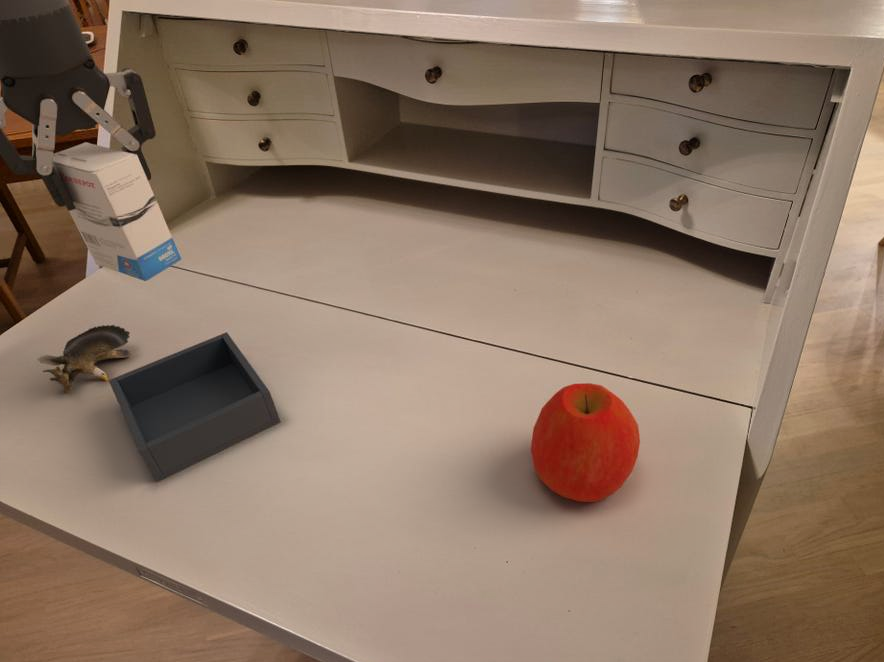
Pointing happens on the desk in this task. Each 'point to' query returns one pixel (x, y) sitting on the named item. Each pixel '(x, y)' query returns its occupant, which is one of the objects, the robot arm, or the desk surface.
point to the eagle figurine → (87, 354)
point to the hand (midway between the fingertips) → (107, 195)
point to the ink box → (116, 210)
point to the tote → (193, 405)
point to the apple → (585, 442)
